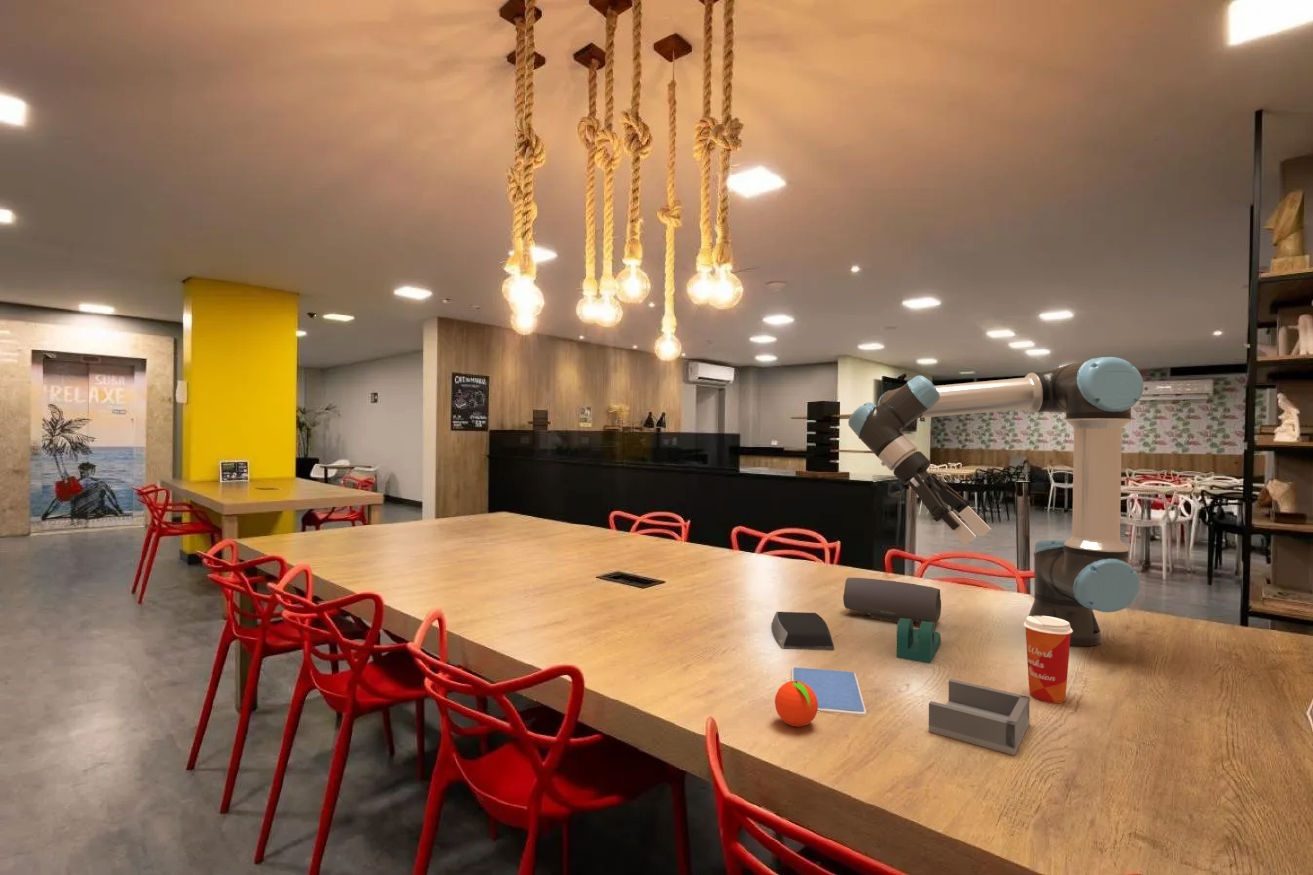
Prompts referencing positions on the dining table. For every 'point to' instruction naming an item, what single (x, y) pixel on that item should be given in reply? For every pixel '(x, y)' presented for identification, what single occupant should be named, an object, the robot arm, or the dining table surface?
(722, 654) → the dining table surface
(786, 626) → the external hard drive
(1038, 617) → the paper cup
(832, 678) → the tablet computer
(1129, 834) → the dining table surface
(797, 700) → the clementine
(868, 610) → the bluetooth speaker
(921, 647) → the bracket
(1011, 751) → the cup holder
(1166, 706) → the dining table surface
